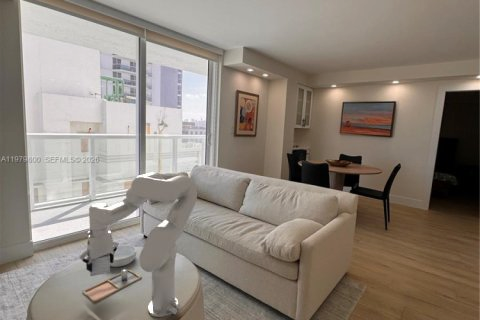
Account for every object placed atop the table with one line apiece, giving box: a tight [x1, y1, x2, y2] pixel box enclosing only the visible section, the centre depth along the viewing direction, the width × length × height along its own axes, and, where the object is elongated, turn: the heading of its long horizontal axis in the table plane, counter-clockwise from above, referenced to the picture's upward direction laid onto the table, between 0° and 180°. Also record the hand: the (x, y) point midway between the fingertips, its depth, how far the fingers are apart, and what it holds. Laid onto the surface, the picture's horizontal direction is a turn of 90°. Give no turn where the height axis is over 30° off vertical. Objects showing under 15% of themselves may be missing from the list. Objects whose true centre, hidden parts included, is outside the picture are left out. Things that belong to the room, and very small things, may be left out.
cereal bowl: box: [110, 245, 137, 268], centre depth 143 cm, size 17×17×7 cm
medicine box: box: [89, 253, 111, 277], centre depth 116 cm, size 8×4×9 cm, turn 119°
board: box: [82, 269, 143, 304], centre depth 122 cm, size 13×23×2 cm, turn 145°
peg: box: [120, 268, 128, 281], centre depth 126 cm, size 3×3×5 cm
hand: (100, 266), depth 116 cm, fingers closed on medicine box, 9 cm apart
